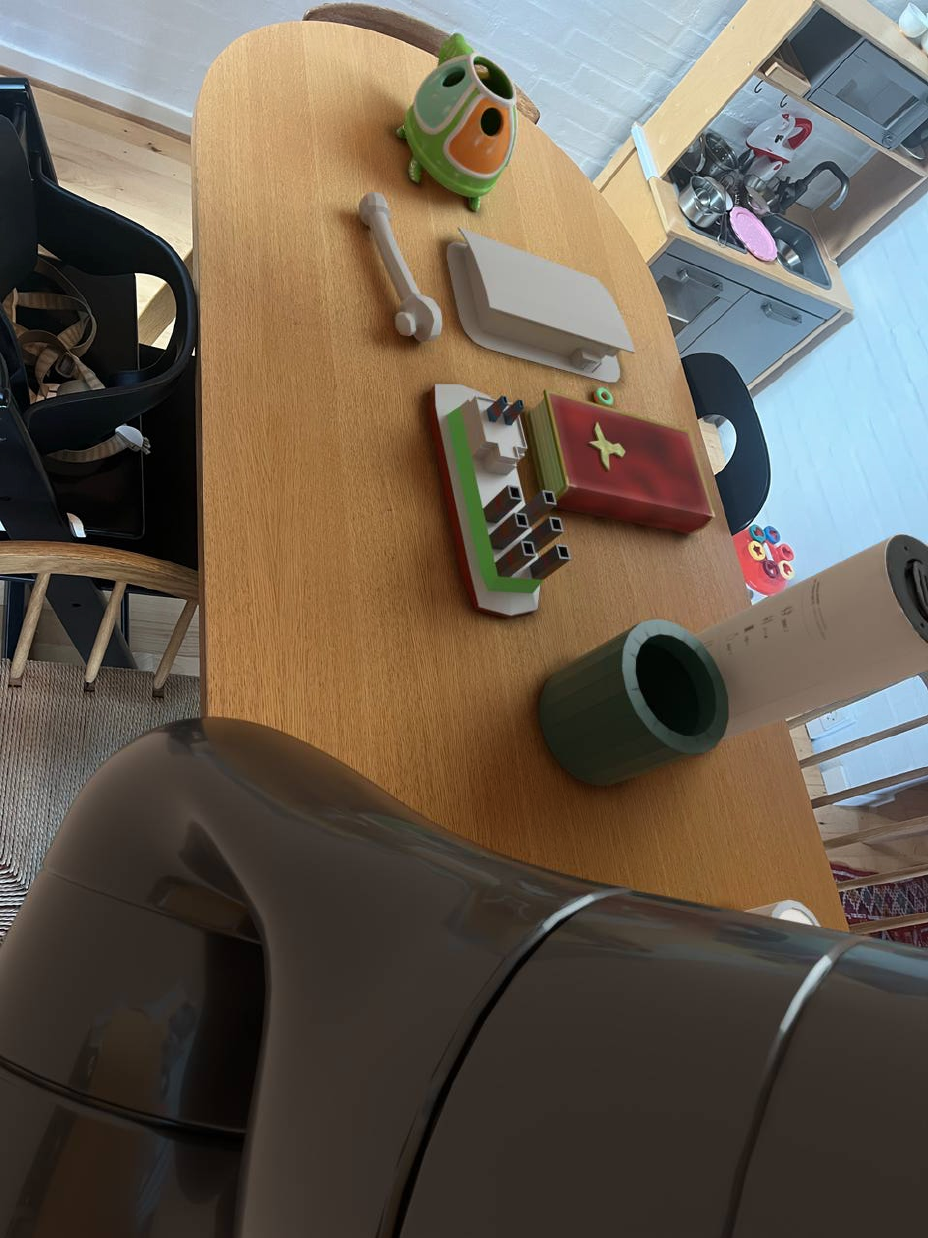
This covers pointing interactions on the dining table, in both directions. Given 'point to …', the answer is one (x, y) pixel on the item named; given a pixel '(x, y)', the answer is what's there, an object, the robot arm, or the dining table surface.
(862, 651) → the beige cylinder
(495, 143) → the turtle holder
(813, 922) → the white tapered cup
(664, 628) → the jar
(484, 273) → the grey tray
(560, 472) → the hardcover book
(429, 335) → the grey knobbed bar
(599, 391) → the green looped rod
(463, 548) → the toy boat
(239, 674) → the dining table surface
